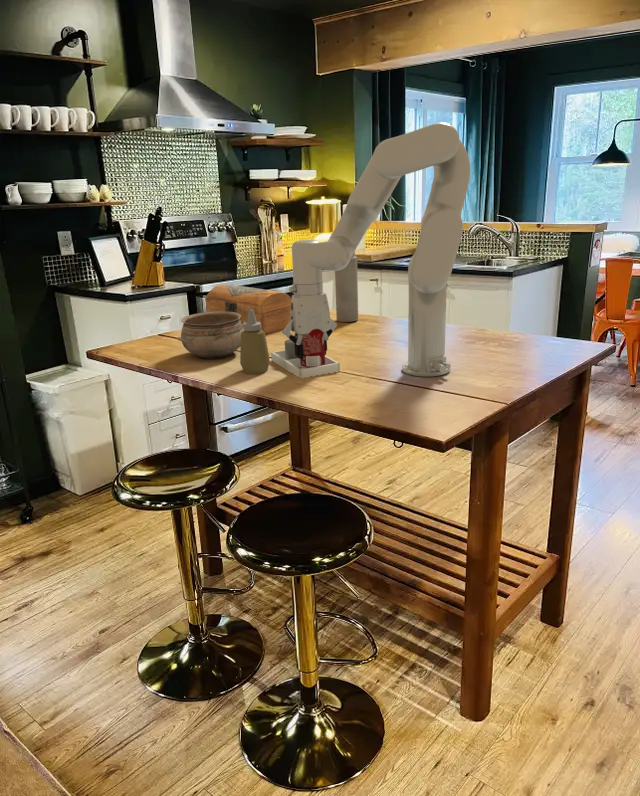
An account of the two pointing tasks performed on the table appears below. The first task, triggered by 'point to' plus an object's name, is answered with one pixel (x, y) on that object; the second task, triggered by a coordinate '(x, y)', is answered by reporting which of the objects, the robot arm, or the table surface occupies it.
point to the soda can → (313, 349)
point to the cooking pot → (212, 334)
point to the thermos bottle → (347, 292)
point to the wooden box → (252, 305)
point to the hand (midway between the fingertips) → (311, 355)
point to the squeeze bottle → (253, 347)
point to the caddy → (292, 362)
